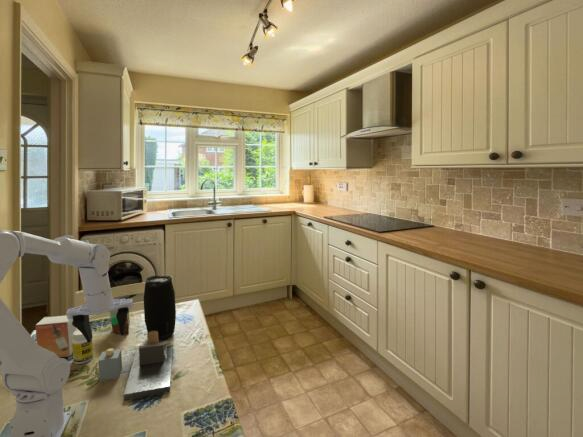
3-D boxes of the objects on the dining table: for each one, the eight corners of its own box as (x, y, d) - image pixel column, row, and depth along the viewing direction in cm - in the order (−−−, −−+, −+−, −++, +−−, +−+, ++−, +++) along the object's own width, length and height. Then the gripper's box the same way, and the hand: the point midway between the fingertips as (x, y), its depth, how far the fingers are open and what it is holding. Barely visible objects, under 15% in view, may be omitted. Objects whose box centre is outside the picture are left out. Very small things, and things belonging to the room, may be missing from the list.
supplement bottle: (83, 365, 88) (81, 336, 87) (69, 363, 89) (66, 334, 88) (97, 356, 93) (95, 328, 92) (83, 354, 94) (81, 326, 93)
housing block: (119, 378, 83) (117, 353, 82) (99, 381, 82) (97, 356, 81) (122, 368, 87) (120, 344, 86) (104, 371, 86) (102, 347, 85)
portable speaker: (145, 333, 106) (141, 276, 104) (174, 327, 111) (172, 272, 108) (146, 345, 99) (143, 284, 96) (178, 338, 103) (176, 279, 101)
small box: (37, 360, 90) (34, 325, 89) (46, 350, 96) (43, 316, 94) (70, 356, 93) (67, 321, 91) (77, 346, 98) (74, 313, 97)
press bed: (170, 391, 78) (169, 381, 77) (124, 400, 75) (123, 389, 74) (173, 349, 96) (172, 341, 96) (136, 355, 93) (136, 346, 93)
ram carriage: (164, 361, 87) (162, 339, 87) (139, 365, 86) (138, 342, 85) (165, 349, 94) (164, 328, 93) (143, 352, 92) (141, 331, 91)
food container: (110, 323, 113) (108, 296, 112) (129, 320, 116) (128, 294, 114) (106, 339, 102) (104, 309, 101) (128, 336, 105) (126, 306, 103)
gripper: (131, 278, 86) (139, 322, 89) (68, 287, 81) (79, 333, 85) (127, 290, 79) (135, 337, 83) (59, 300, 75) (71, 350, 79)
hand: (106, 336), depth 84 cm, fingers open, 7 cm apart
